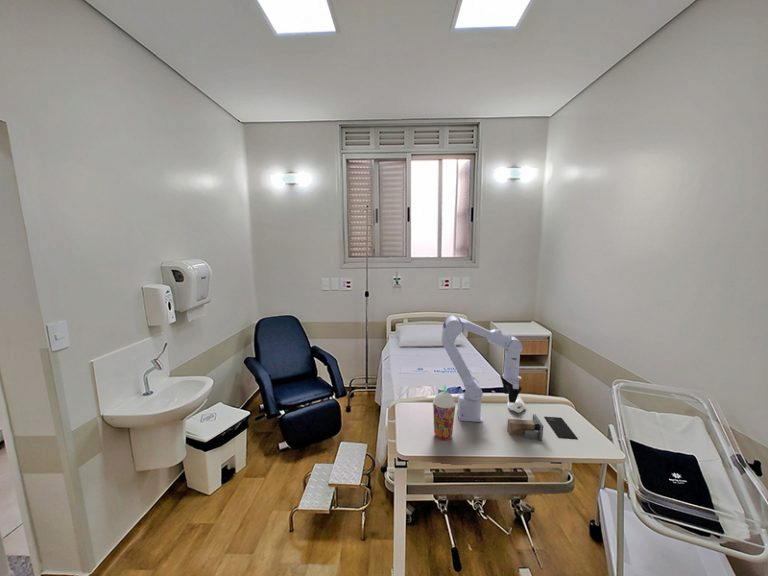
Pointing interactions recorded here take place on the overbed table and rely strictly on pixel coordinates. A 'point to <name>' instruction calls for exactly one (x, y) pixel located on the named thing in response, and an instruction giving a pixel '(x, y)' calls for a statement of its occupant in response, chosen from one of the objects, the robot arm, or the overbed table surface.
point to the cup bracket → (535, 430)
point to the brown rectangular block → (519, 426)
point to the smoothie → (443, 414)
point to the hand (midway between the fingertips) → (509, 397)
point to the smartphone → (560, 428)
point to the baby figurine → (516, 404)
